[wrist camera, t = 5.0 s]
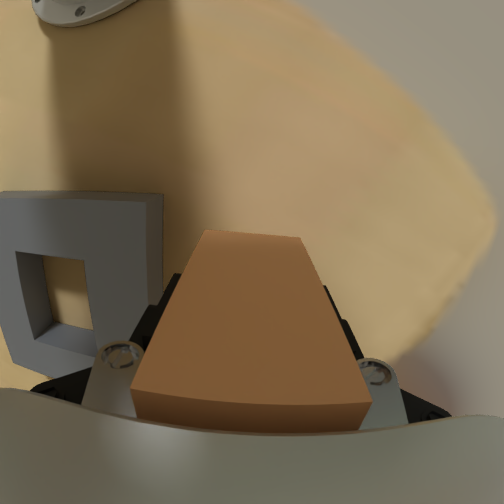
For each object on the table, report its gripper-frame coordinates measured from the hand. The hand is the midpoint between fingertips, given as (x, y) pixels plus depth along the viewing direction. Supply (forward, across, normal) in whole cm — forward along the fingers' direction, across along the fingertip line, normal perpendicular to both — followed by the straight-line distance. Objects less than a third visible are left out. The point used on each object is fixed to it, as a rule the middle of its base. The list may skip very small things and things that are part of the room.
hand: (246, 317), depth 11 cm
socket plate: (+8, +12, +4) cm, 15 cm away
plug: (+3, 0, 0) cm, 3 cm away
